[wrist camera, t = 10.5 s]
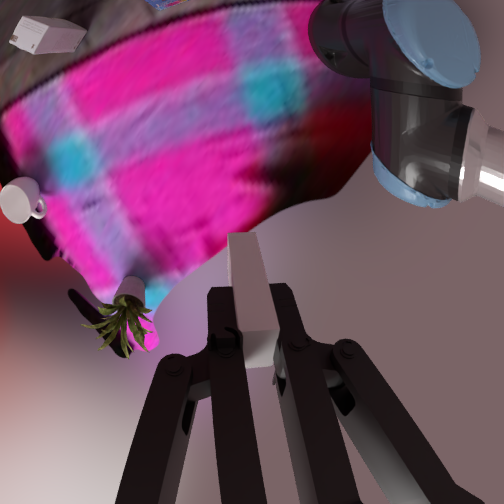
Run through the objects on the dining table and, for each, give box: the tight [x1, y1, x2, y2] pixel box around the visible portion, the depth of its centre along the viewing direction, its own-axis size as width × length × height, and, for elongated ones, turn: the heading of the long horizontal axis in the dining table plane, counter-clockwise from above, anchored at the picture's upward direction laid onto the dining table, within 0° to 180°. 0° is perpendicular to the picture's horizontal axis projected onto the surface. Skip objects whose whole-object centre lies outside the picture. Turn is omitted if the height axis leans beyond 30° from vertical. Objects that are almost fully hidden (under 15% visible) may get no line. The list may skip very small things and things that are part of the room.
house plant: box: [82, 276, 155, 359], centre depth 52 cm, size 14×14×16 cm
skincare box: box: [9, 16, 87, 54], centre depth 22 cm, size 6×4×12 cm
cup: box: [0, 177, 47, 224], centre depth 39 cm, size 8×10×7 cm
